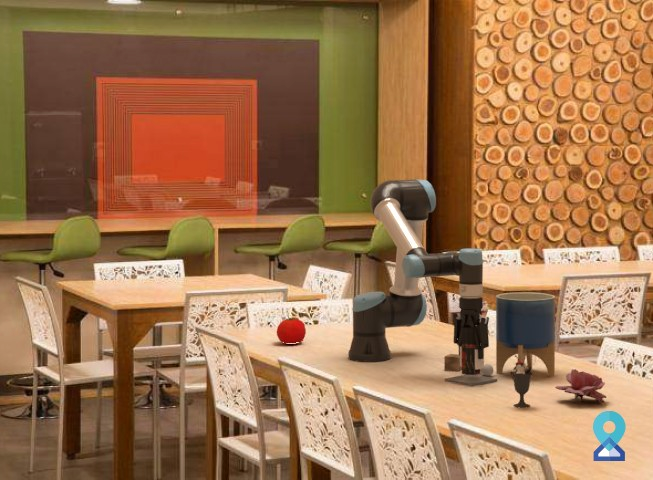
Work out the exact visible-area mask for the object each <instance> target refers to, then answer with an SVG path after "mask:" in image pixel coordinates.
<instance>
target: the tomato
mask: <svg viewBox="0 0 653 480" xmlns="http://www.w3.org/2000/svg"><path fill="white" fill-rule="evenodd" d="M287 317H288V318H285V319H284V320H282V321H280V323H279V324H278V326H277V329H276V336H277V338H278V340H279V341H280V342H281V343H282V342H284V343H296V342H300V343H302V342H304V340H305V338H306V335H307V334H306V333H307V332H306V331H307V330H306V326H305V323H304V322H303V321H302V320H300V319H299V317H298V318H297V317H296V318H291V317H290V316H287ZM284 343H283V344H284Z"/></svg>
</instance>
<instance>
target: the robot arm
mask: <svg viewBox="0 0 653 480" xmlns="http://www.w3.org/2000/svg"><path fill="white" fill-rule="evenodd" d="M436 206H437V196H436V193H435V189H434V187H433V185H432V183H430V182H429V181H428V180H426V179H417V178H416V179H398V180H396V179H395V180H394V179H392V180H385V181H383V182H381V183H380V184H378V185H377V187H375V188H374V189H373V192H372V194H371V196H370V209H371V212H372V215H373V216H374V218H375V219H376V220H377V221H378V222H381V224H382V225H383V226H384V228H385V230H386V231H387V233H388V235H389V236H390V238H391V240H392V242H393V243H394V245H395V247H396V257H395V269H394V271H395V272H394V283H393V285H392V286H391V287H390V288H389V291H388V295H386V293H385V292H383V291H368V292H364V293H360V294H357V295H356V296H355V297H354V298H353V300H352V308H351V309H352V340H351V344H350V347H349V350H348V351H347V355H348V359H349V358H350V359H349V360H351V359H352V361H355V360H358V361H357V362H367V363H368V362H371V363H372V362H383V361H387V360H390V359H391V356H392V355H391V354H392V353H391V350H390V348H389V343H388V341H387V337H386V329H387V328H388V329H391V328H400V327H401V328H402V327H408V328H409V327H413V326H418V325H420V324H421V323H423V322H424V320H425V318H426V314H427V309H428V308H427V307H428V305H427V299H426V297H425V295H424V294H423V293H422V289H420V287H419V279H421V278H431V277H432V278H433V277H450V276H451V277H452V276H453V277H454V276H457V277H459V278H458V279H459V280H458V281H459V283H458V285H459V286H458V287H459V289H458V290H459V291H458V292H459V293H458V294H459V296H460V297H459V298H458V301H459V302H458V304H459V305H458V307H459V309H460V311H459V312H457V313H453V314H452V315H453V316H452V317H453V320H454V321H453V344H454V345H455V344H456V345H457V346H458V355H459V356H460V367H462V327H468V326H471V328H472V329H475V342H476V346H477V348H475V369H476V370H477V369H482V359H483V358H484V359H485V349H487V348H489V347H490V344H489V342H490V340H489V322H490V321H489V320H490V318H489V316H484V315H483V313H482V309H483V301H484V299H483V297H482V296H483V295H484V293H483V292H484V291H483V289H484V288H483V287H484V286H483V282H484V281H483V275H484V274H483V272H484V271H483V270H484V268H483V267H484V259H483V251H482V250H481V249H479V248H471V247H469V248H461V249H460V250H459V251H458V252H457V251H446V252H441V253H428V252H427V251H426V249H425V247H424V246H423V244H422V241H423V231H424V229H423V227H424V223H426V221H428V219H429V213H433V212H434V210H435V208H436Z"/></svg>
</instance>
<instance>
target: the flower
mask: <svg viewBox="0 0 653 480" xmlns="http://www.w3.org/2000/svg"><path fill="white" fill-rule="evenodd" d="M565 379H566V381H567V382H568V383H569V384H570V385H556V386H555V387H554V388H555V389H556V390H559V391H563V392H564V393H568V394H573V395H574V399H578V398H580V401H581V402H583V398H584V397H585V396H586V397H588V398H592V399H595V400H598V403H599V405H600V404H602V402H603V401H604V402H605V400H604V398H605V399H607V395H606V394H603V393H601V392H599V391H598V390H601V389H602V388H603V387H604V386H605V384H606V382H604V381H603V379H602V377H599V376H597V375H596V374H591V373H589V372H586V371H579V370H577V369H571V371H570V373H569V372H568V373H567V374H566V376H565Z"/></svg>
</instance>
